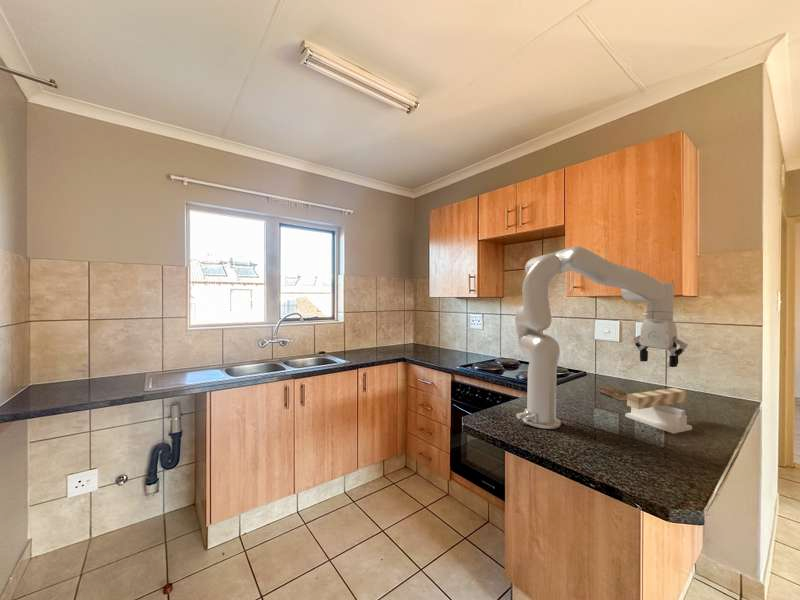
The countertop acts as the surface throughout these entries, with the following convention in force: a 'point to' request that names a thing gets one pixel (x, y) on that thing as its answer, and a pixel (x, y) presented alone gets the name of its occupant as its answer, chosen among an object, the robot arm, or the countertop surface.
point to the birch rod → (656, 398)
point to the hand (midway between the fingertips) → (658, 363)
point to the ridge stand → (662, 418)
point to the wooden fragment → (613, 393)
